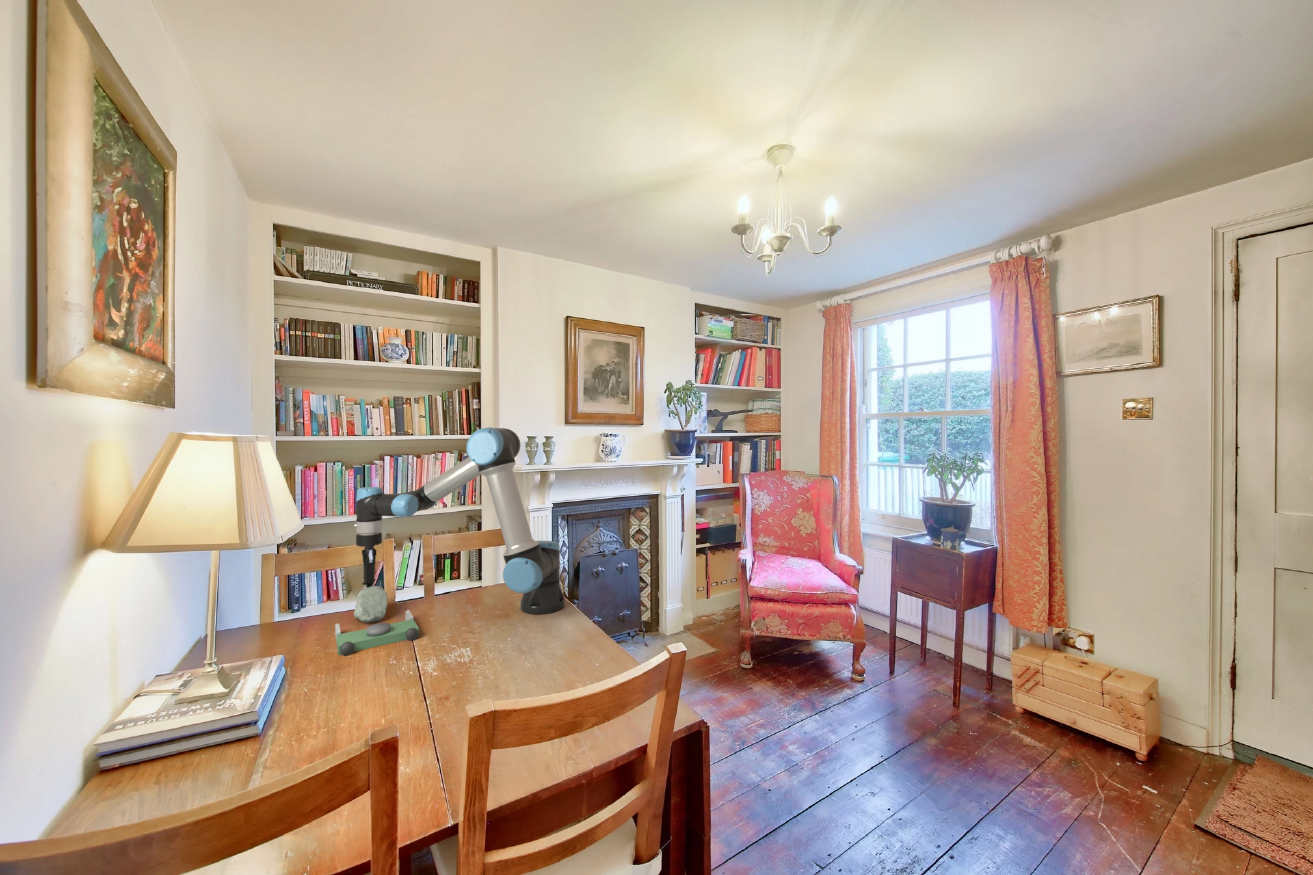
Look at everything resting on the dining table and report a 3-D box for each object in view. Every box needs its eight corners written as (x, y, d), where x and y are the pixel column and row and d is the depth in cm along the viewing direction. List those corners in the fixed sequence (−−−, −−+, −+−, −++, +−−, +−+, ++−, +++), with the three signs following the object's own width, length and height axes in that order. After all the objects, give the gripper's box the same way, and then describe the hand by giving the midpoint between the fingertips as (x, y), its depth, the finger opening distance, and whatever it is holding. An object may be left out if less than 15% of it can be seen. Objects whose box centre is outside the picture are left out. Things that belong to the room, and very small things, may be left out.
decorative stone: (359, 610, 161) (345, 593, 154) (393, 595, 165) (381, 578, 158) (361, 641, 152) (347, 625, 145) (397, 624, 156) (385, 608, 149)
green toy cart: (408, 618, 155) (408, 606, 155) (419, 638, 140) (419, 624, 140) (335, 633, 143) (335, 620, 143) (338, 657, 128) (338, 642, 128)
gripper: (354, 530, 163) (354, 598, 163) (357, 537, 152) (357, 610, 153) (379, 528, 167) (379, 594, 168) (384, 535, 157) (383, 605, 157)
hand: (368, 602), depth 160 cm, fingers closed
